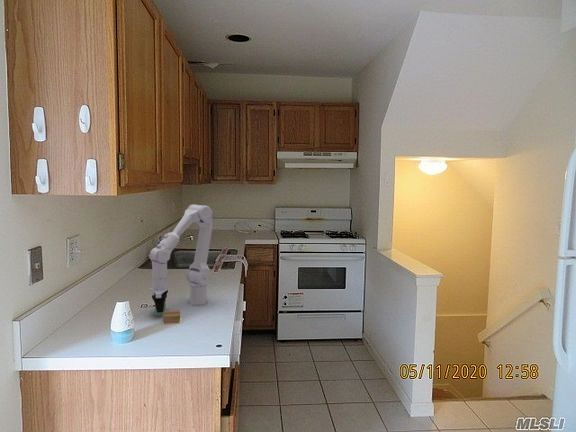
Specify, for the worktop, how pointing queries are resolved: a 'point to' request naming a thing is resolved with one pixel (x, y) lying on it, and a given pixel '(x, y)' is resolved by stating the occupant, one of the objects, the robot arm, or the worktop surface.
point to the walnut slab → (171, 317)
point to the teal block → (161, 312)
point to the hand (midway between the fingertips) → (160, 310)
